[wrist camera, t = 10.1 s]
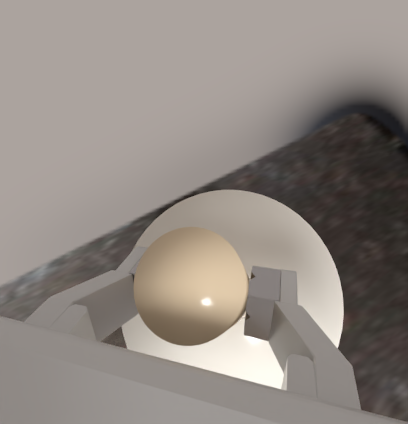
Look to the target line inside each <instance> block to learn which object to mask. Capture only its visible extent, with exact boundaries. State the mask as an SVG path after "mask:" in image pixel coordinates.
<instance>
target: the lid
mask: <svg viewBox="0 0 408 424" xmlns="http://www.w3.org/2000/svg"><path fill="white" fill-rule="evenodd" d="M138 246H140V247H146V248H147V250H146V251H145V253H144V254H143V256H142V257H141V259H140V261H139V264H138V266H137V269H136V273H135V277H134V288H133V290H134V299H135V304H136V307H137V310H138V314H137V315H136V316H135V317H133V318H132V319H130V320H129V321H128V322H126V323H125V324H123V325H122V331H123V335H124V339H125V342H126V345H127V348H128V349H129V350H133V351H137V352H141V353H144V354H148V355H152V356H156V357H160V358H164V359H167V360H171V361H175V362H179V363H183V364H187V365H190V366H194V367H198V368H202V369H206V370H210V371H213V372H217V373H221V374H225V375H229V376H233V377H236V378H240V379H244V380H248V381H252V382H256V383H259V384H263V385H267V386H271V387H275V388H279V389H281V387H282V382H283V377H284V373H283V371H282V369H281V367H280V365H279V363H278V361H277V359H276V357H275V355H274V353H273V351H272V349H271V346H270V344H269V341H265V340H261V339H257V338H253V337H249V336H245V335H244V324H245V316H246V303H247V298H248V290H249V281H250V280H251V271H252V266H253V265H254V266H260V267H267V268H273V269H280V270H281V269H283V270H290V271H296V273H297V297H298V305H300V306H303V307H304V309H305V310H306V311H307V312H308V313H309V315H310V316H311V317H312V318H313V319H314V321H315V322H316V323H317V324H318V326H319V327H320V328H321V329H322V330H323V332H324V333H325V334H326V335H327V336H328V338H329V339H330V340H331V341H332V342H333V344H334V345H335V346H336V347H337V348H338V345H339V341H340V337H341V332H342V325H343V314H344V311H343V295H342V289H341V284H340V279H339V276H338V273H337V270H336V267H335V264H334V262H333V260H332V257H331V255H330V253H329V251H328V249H327V248H326V246H325V245H324V243H323V241H322V240H321V238H320V237H319V236H318V234H317V233H316V232H315V231H314V230H313V228H312V227H311V226H310V225H309V224H308V223H307V222H306V221H305V220H304V219H303V218H302V217H300V216H299V215H298V214H297V213H295V212H294V211H292V210H291V209H290V208H288V207H287V206H285V205H283V204H281V203H279V202H278V201H276V200H273V199H271V198H268V197H266V196H264V195H260V194H256V193H252V192H247V191H240V190H218V191H210V192H206V193H201V194H198V195H195V196H192V197H190V198H187V199H185V200H183V201H181V202H179V203H177V204H175V205H174V206H172V207H171V208H169V209H168V210H166V211H165V212H164V213H162V214H161V215H160V216H159V217H158V218H156V219H155V220H154V221H153V222H152V224H151V225H150V226H149V227H148V228H147V229H146V230H145V232H144V233H143V234H142V236H141V237H140V238H139V240H138V242H137V243H136V245H135V247H134V249H135V248H136V247H138ZM134 249H133V250H134ZM133 250H132V251H133Z"/></svg>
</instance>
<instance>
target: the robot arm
mask: <svg viewBox="0 0 408 424" xmlns="http://www.w3.org/2000/svg"><path fill="white" fill-rule="evenodd" d="M146 250H147V248H146V247H140V246H138V247H136V248H135V249H134V250H133V251H132V252H131V253H130V255H129V256H128V257H127V258H126V259H125V260H124V261H123V263H122V264H121V265H120V266H119V267H118V268H117V270H116V271H113V270H111V271H109V272H107V273H104V274H102V275H100V276H97V277H95V278H93V279H90V280H88V281H86V282H83V283H81V284H79V285H77V286H74V287H72V288H70V289H67V290H65V291H63V292H60V293H58V294H56V295H53V296H51V297H49V298H48V299H47V300H46V301H45V302H44V303H43V304H42V305H41V306H40V307H39V308H38V309H37V310H36V311H35V312H34V313H33V314H32V315H30V316H29V317H28V318H27V319H26V320H25V321H24V322H22V321H18V320H14V319H10V318H6V317H2V316H0V424H408V422H405V421H401V420H397V419H394V418H390V417H386V416H382V415H378V414H374V413H371V412H367V411H363V410H361V407H360V402H359V397H358V392H357V387H356V382H355V377H354V373H353V368H352V365H351V364H350V363H349V362H348V361H347V359H346V358H345V357H344V356H343V355H342V353H341V352H340V351H339V350H338V348H337V347H336V346H335V345H334V344H333V342H332V341H331V340H330V339H329V338H328V336H327V335H326V334H325V333H324V332H323V330H322V329H321V328H320V327H319V326H318V324H317V323H316V322H315V321H314V319H313V318H312V317H311V316H310V315H309V313H308V312H307V311H306V310H305V309H304V307H303V306H300V305H298V297H297V273H296V271H290V270H283V269H281V270H280V269H273V268H267V267H260V266H254V265H253V266H252V271H251V280H250V281H249V290H248V298H247V303H246V316H245V324H244V335H245V336H249V337H253V338H257V339H261V340H265V341H269V344H270V346H271V349H272V351H273V353H274V355H275V357H276V359H277V361H278V363H279V365H280V367H281V369H282V371H283V373H284V377H283V382H282V387H281V389H279V388H275V387H271V386H267V385H263V384H259V383H256V382H252V381H248V380H244V379H240V378H236V377H233V376H229V375H225V374H221V373H217V372H213V371H210V370H206V369H202V368H198V367H194V366H190V365H187V364H183V363H179V362H175V361H171V360H167V359H164V358H160V357H156V356H152V355H148V354H144V353H141V352H137V351H133V350H129V349H125V348H121V347H118V346H114V345H110V344H106V343H102V342H100V341H101V340H102V339H104V338H105V337H107V336H108V335H109V334H111V333H112V332H114V331H115V330H116V329H118V328H119V327H121V326H122V325H123V324H125V323H126V322H128V321H129V320H130V319H132V318H133V317H135V316H136V315H137V314H138V310H137V307H136V304H135V299H134V290H133V288H134V277H135V273H136V269H137V266H138V264H139V261H140V259H141V257H142V256H143V254H144V253H145V251H146Z"/></svg>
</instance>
